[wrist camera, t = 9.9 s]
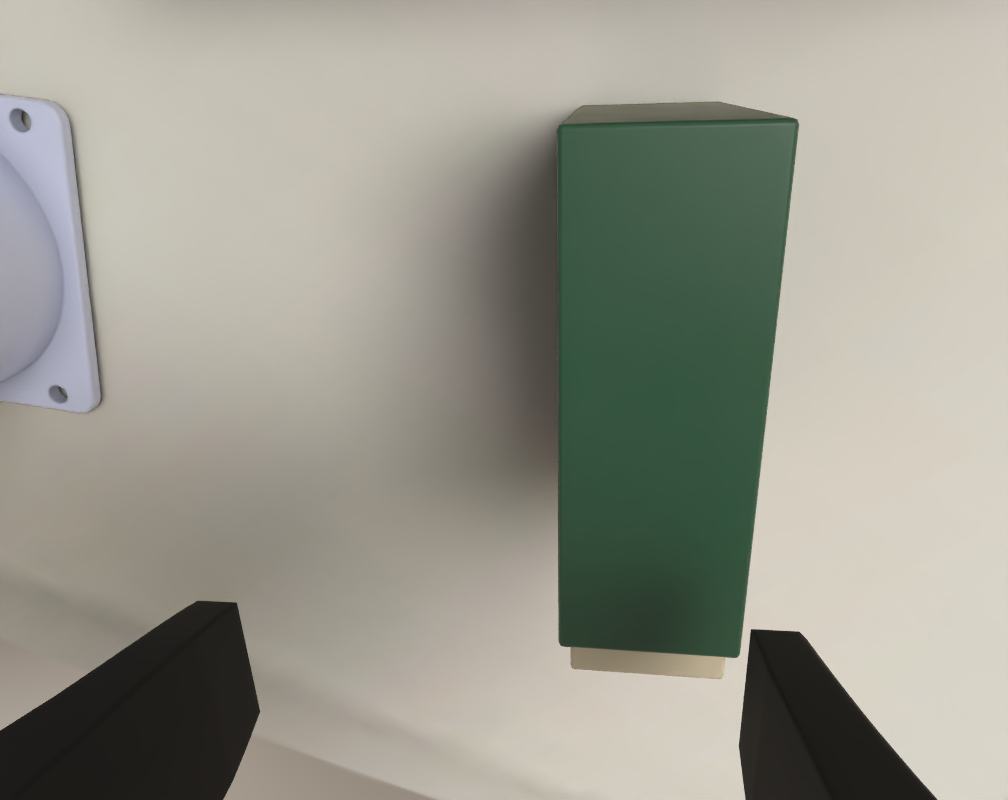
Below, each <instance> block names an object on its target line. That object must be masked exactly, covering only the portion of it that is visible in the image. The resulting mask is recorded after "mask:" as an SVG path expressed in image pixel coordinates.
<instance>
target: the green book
mask: <svg viewBox="0 0 1008 800" xmlns="http://www.w3.org/2000/svg"><path fill="white" fill-rule="evenodd" d="M798 128H799V123H798V120H797V119H794V118H791V117H786V116H782V115H777V114H773V113H768V112H763V111H759V110H754V109H750V108H745V107H741V106H736V105H731V104H727V103H722V102H691V103H656V104H621V105H586V106H582V107H580V108H579V109H578V110H577V111H576V112H574V113H573V114H572V115H571V116H570V117H568V118H567V119H566V120H565V121H564V122H563V123H561V124H560V125H559V126H558V129H557V336H558V604H559V643H560V645H561V646H564V647H571V666H572V668H573V669H582V670H596V671H611V672H625V673H639V674H653V675H668V676H682V677H696V678H711V679H722V677H723V674H724V664H725V657H730V658H736V657H738V656H739V654H740V648H741V639H742V630H743V621H744V612H745V603H746V594H747V585H748V576H749V567H750V558H751V549H752V540H753V531H754V522H755V513H756V504H757V496H758V487H759V478H760V469H761V460H762V451H763V442H764V433H765V424H766V415H767V406H768V397H769V388H770V379H771V370H772V361H773V352H774V343H775V334H776V325H777V316H778V307H779V298H780V289H781V280H782V272H783V263H784V254H785V245H786V236H787V227H788V218H789V209H790V200H791V191H792V182H793V173H794V164H795V155H796V146H797V137H798Z"/></svg>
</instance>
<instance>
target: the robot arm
mask: <svg viewBox="0 0 1008 800" xmlns="http://www.w3.org/2000/svg"><path fill="white" fill-rule="evenodd" d="M23 111H25V112H26V113H27V114H28V115H29V118H30V121H31V126H30V129H27V127H26V126H25V125H24V124H23V121H22V112H23ZM59 386H60V387H62V388H63V389H64V390H65V391H66V394H67V397H65V396H64V395H63V394H62V393H61V392H60V390H59V388H58V387H59ZM100 399H101V392H100V383H99V374H98V365H97V357H96V348H95V339H94V330H93V321H92V313H91V304H90V295H89V286H88V277H87V269H86V260H85V251H84V242H83V233H82V224H81V216H80V207H79V198H78V189H77V180H76V172H75V163H74V154H73V145H72V136H71V128H70V123H69V119H68V116H67V114H66V113H65V111H64V110H63V108H62V107H60V106H59V105H58V104H57V103H55V102H52V101H50V100H45V99H37V98H29V97H22V96H14V95H6V94H0V401H6V402H12V403H18V404H24V405H31V406H37V407H43V408H49V409H55V410H61V411H68V412H74V413H86V412H88V411H90V410H92V409H93V408H95V407H97V406H98V404H99V403H100ZM259 713H260V709H259V704H258V700H257V695H256V690H255V686H254V681H253V676H252V672H251V667H250V662H249V658H248V653H247V648H246V644H245V639H244V634H243V630H242V625H241V620H240V616H239V611H238V606H237V603H233V602H213V601H196V602H195V603H193V604H191V605H190V606H188V607H186V608H185V609H183V610H181V611H180V612H178V613H177V614H175V615H174V616H172V617H171V618H169V619H168V620H166V621H165V622H163V623H162V624H160V625H159V626H157V627H156V628H154V629H153V630H151V631H150V632H148V633H147V634H145V635H144V636H142V637H141V638H140V639H138V640H137V641H135V642H134V643H132V644H131V645H129V646H128V647H126V648H125V649H124V650H122V651H121V652H119V653H118V654H116V655H115V656H113V657H112V658H110V659H109V660H107V661H106V662H105V663H103V664H102V665H100V666H99V667H97V668H96V669H94V670H93V671H91V672H90V673H88V674H87V675H85V676H84V677H82V678H81V679H79V680H78V681H76V682H75V683H74V684H72V685H71V686H69V687H68V688H66V689H65V690H63V691H62V692H60V693H59V694H57V695H56V696H54V697H53V698H51V699H50V700H48V701H46V702H45V703H43V704H42V705H40V706H39V707H37V708H35V709H34V710H32V711H31V712H29V713H27V714H26V715H24V716H23V717H21V718H20V719H18V720H16V721H15V722H13V723H12V724H10V725H9V726H7V727H5V728H4V729H2V730H1V731H0V800H223V799H224V797H225V795H226V793H227V791H228V789H229V787H230V785H231V783H232V781H233V779H234V777H235V774H236V772H237V770H238V767H239V765H240V762H241V760H242V757H243V755H244V753H245V750H246V747H247V745H248V742H249V739H250V737H251V734H252V732H253V729H254V726H255V724H256V721H257V718H258V716H259ZM739 750H740V758H741V766H742V774H743V782H744V790H745V798H746V800H937V799H936V797H935V796H934V795H933V794H932V793H931V792H930V791H929V790H928V789H927V787H926V786H925V785H924V784H923V783H922V782H921V781H920V780H919V778H918V777H917V776H916V775H915V774H914V773H913V772H912V770H911V769H910V768H909V767H908V766H907V765H906V763H905V762H904V761H903V760H902V759H901V758H900V756H899V755H898V754H897V753H896V752H895V750H894V749H893V748H892V747H891V746H890V745H889V743H888V742H887V741H886V740H885V739H884V738H883V736H882V735H881V734H880V733H879V732H878V730H877V729H876V728H875V727H874V726H873V724H872V723H871V722H870V721H869V719H868V718H867V717H866V716H865V715H864V713H863V712H862V711H861V710H860V708H859V707H858V706H857V704H856V703H855V702H854V701H853V699H852V698H851V697H850V696H849V694H848V693H847V692H846V691H845V689H844V688H843V687H842V685H841V684H840V683H839V682H838V680H837V679H836V678H835V676H834V675H833V674H832V672H831V671H830V670H829V668H828V667H827V666H826V665H825V663H824V662H823V661H822V659H821V658H820V657H819V655H818V654H817V653H816V651H815V650H814V648H813V647H812V646H811V644H810V643H809V642H808V640H807V639H806V638H805V637H804V636H803V635H802V634H801V633H800V632H794V631H774V630H755V629H751V634H750V644H749V654H748V663H747V673H746V683H745V692H744V702H743V712H742V721H741V731H740V741H739Z"/></svg>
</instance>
